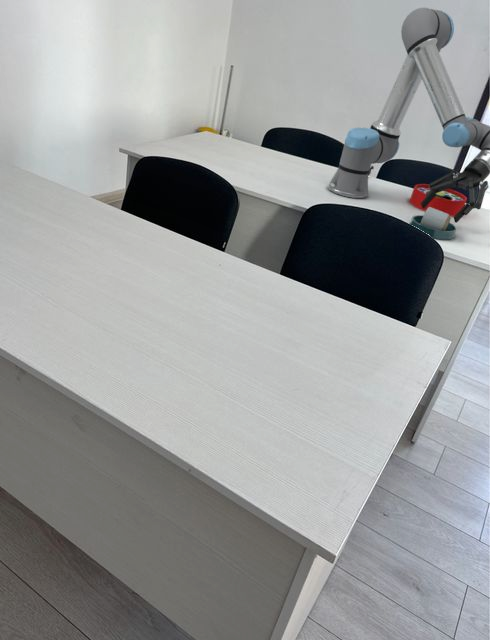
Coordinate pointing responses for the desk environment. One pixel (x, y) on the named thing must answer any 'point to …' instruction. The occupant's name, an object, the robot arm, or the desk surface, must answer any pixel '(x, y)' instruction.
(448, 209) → the toy clock
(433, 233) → the bowl
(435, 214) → the grey cylinder
